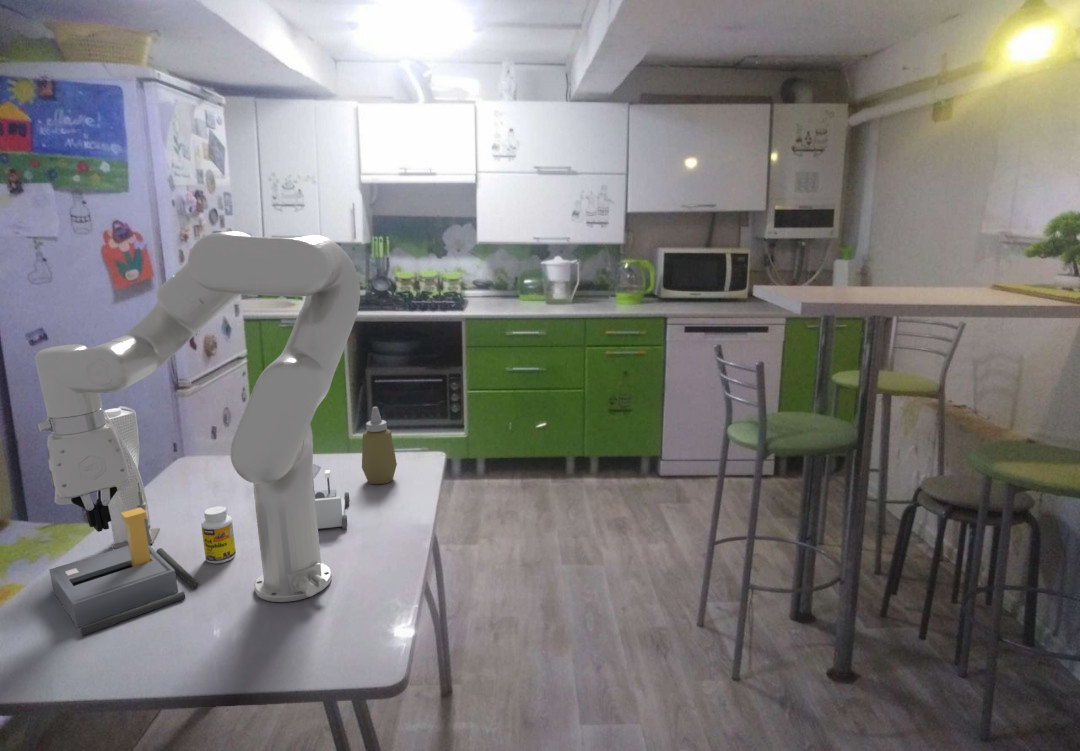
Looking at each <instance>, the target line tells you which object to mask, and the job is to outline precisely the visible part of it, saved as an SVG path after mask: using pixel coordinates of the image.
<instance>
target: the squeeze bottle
mask: <svg viewBox="0 0 1080 751" xmlns="http://www.w3.org/2000/svg"><path fill="white" fill-rule="evenodd" d="M387 422H388V421H386V420H384V419H382V417H381V413H380V410H379V407H378V406H372V409H371V416H370V420H369V421H367V422H366V423H365V426H366V427H365V428H366V430H365V431H364V432H363V434H362V443H361V444H362V448H361V450H362V453H361V469H362V471H363V474H364V476H365V478H366V480H367V482H368V484H372V485H383V484H388V483H390V482H392V481H393V479H394V476H395V472H396V469H397V466H398V463H397V459H396V453H395V452H396V451H395V446H394V440H393V435H392V431H391V430H390V429H388V426H387V424H388V423H387Z"/></svg>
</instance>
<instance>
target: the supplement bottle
mask: <svg viewBox="0 0 1080 751" xmlns="http://www.w3.org/2000/svg"><path fill="white" fill-rule="evenodd" d="M227 512H228V511H227V508H226V507H225V506H220V505H219V506H218V505H217V506H212V507H209V508H207V509H205V511H204V513H203V514H204V519H203V520H202V522H201V523H200V524H201V534H202V542H203V550H204V557H205V560H206V562H208V563H210V564H222V563H223V564H224V563H226V562H229V561H230V560H232V559H233V558H235V556H236V554H237V553H236V551H237V550H236V545H235V544H236V543H235V535H234V527H233V526H234V524H233V518H232V517H231V516H230V515H228V513H227Z"/></svg>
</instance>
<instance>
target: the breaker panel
mask: <svg viewBox="0 0 1080 751" xmlns="http://www.w3.org/2000/svg"><path fill="white" fill-rule="evenodd" d="M148 548H149V554H150V562H147V563H144V564H140V565H137V566H134V567H133V566H132V562H131V555H130V549H129V546H125V547H122V548H119V549H115V550H112V549H111V550H108V551H106V552H103V553H99V554H96V555H92V556H90V557H87V558H83V559H80V560H76V561H73V562H69V563H66V564H63V565H61V566H60V565H59V566H56V567H54V568H50V569H49V568H48V569H49V570H48V571H49V575H50V581H51V586H52V591H53V593H54V592H55V593H54V594H55V596H56V595H57V596H56V598H57V599H58V598H59V599H58V600H59V602H60V601H61V602H60V603H61V605H62V604H63V605H62V606H64V607H63V608H64V610H65V609H66V610H65V611H66V613H67V612H68V613H67V614H68V615H70V616H69V618H72V619H71V621H72V622H73V621H74V622H73V623H74V625H75V627H76V628H80V627H83V626H86V625H89V624H92V623H95V622H98V621H101V620H104V618H105V619H106V618H109V617H112V616H115V615H118V614H120V613H123V612H126V611H129V610H132V609H135V608H137V607H140V606H143V605H146V604H149V603H151V602H154V601H157V600H160V599H163V598H165V597H168V596H171V595H174V594H177V593H179V588H178V583H177V582H178V581H177V573H176V572H175V570H174V569H173V568H172V567H171V566H170V565H169V564H168V563H167V562H166V561H165V560H164V559H163V558H162V557H161V556H160V555H159V554H158V553H157V552H156V551H157V550H155V549H154V548H153V547H152V545H148ZM88 623H89V624H88ZM85 624H86V625H85ZM82 625H83V626H82ZM79 626H80V627H79Z"/></svg>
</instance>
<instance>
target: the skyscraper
mask: <svg viewBox="0 0 1080 751" xmlns="http://www.w3.org/2000/svg"><path fill="white" fill-rule="evenodd" d="M103 411H104V416H105V420H106V423H109V424H112V425H113V427H114V429H115V432H116V434H117V437H118V439H119V442H120V445H121V448H122V451H123V455H124V458H125V462H126V466H127V470H128V479H129V481H130V484H129V485H128V486H127V487H125V488H123V489H121V490H118V491H117V492H116V493H115V495H114V496H113V497H112V499H111V500H110V504H109V505H108V507H109V512H110V516H111V521H110V527H111V532H112V538H113V545H112V547H111V551H112V550H113V549H114V550H115V549H119V548H122V547H125V546H129V543H128V536H127V530H126V524H125V522H124V521H123V520H122V519H121V513H122V512H126V511H130V510H133V509H137V508H142V509H143V510H144V511H146V514H147V519H144V522H145V528H146V535H147V541H148V545H149V546H152V545H151V544H154V543H155V540H156V538H157V537H158V534H159V532H160V531H161V528H160V527H155V528H152V527H151V520H150V511H149V507H148V506H149V505H148V499H147V496H146V495H147V494H146V491H145V487H144V484H143V479H142V476H141V474H140V471H139V459H140V439H139V437H140V436H139V427H138V421H137V420H138V419H137V413H136V410H135V409H133V408H131V407H129V406H124V405H120V406H118V407H116V408H114V407H113V408H109V409H105V410H104V409H103Z"/></svg>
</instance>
